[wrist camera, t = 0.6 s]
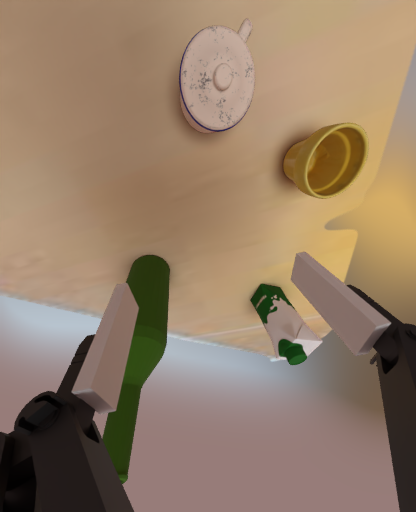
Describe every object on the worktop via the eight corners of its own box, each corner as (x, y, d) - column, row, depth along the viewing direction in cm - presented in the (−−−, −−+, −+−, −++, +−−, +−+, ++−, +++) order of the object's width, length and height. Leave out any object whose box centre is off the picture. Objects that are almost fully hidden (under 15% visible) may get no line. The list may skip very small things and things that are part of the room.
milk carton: (259, 280, 51) (301, 346, 34) (284, 285, 53) (334, 349, 37) (246, 301, 54) (277, 370, 38) (270, 305, 57) (309, 371, 40)
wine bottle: (161, 288, 46) (140, 490, 19) (126, 277, 43) (40, 505, 16) (176, 262, 43) (177, 464, 16) (139, 248, 39) (59, 476, 12)
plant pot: (330, 126, 33) (383, 119, 24) (316, 185, 38) (354, 195, 30) (278, 130, 32) (314, 125, 23) (271, 190, 37) (298, 202, 29)
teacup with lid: (213, 147, 31) (231, 147, 22) (167, 109, 28) (163, 88, 18) (257, 71, 27) (304, 29, 17) (210, 14, 23) (235, -81, 14)
